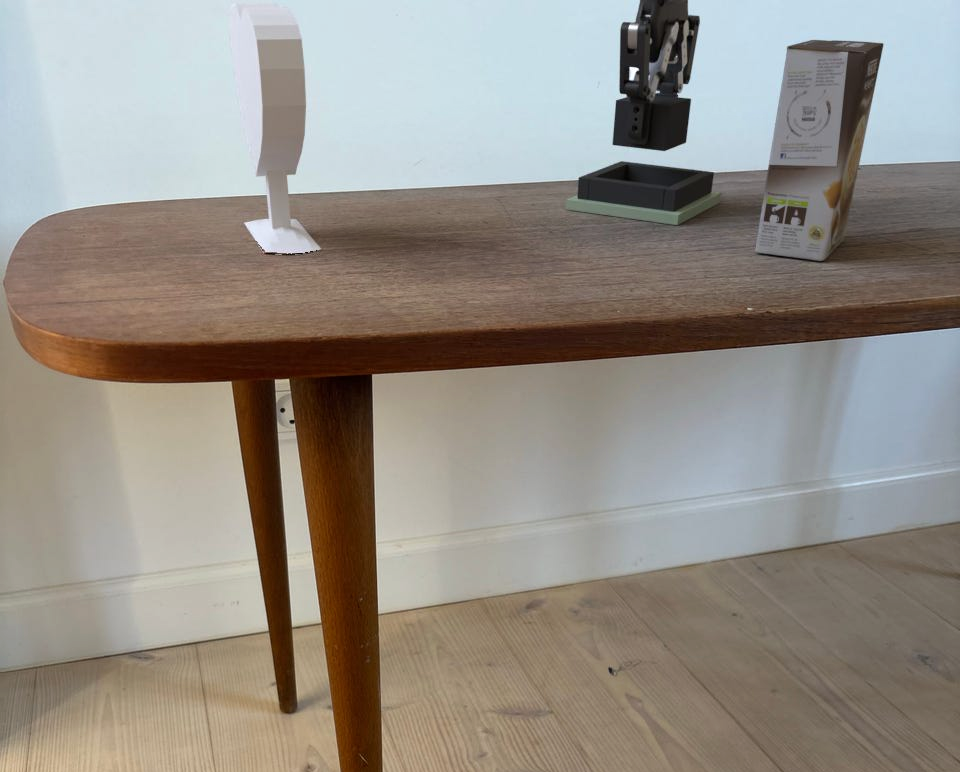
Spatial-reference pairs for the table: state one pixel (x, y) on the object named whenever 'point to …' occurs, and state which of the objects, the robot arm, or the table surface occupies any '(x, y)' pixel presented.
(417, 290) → the table surface
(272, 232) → the heart sculpture
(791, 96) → the coffee box
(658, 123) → the black block
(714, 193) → the base pad
